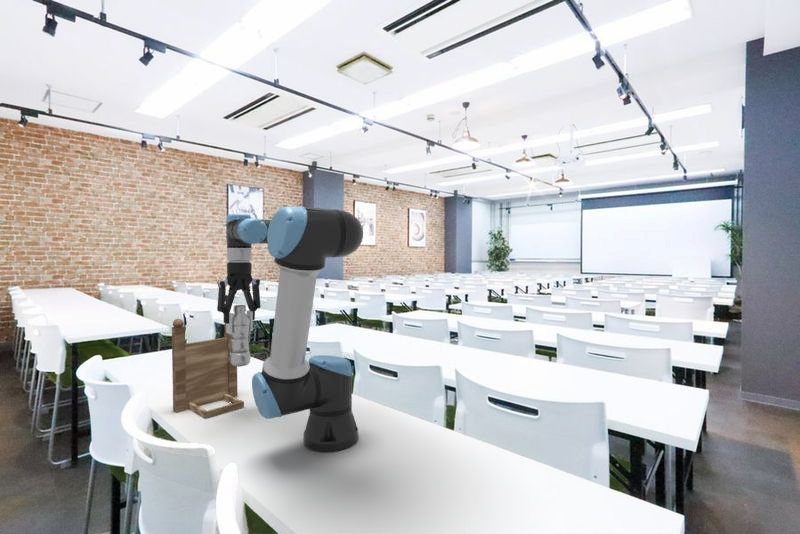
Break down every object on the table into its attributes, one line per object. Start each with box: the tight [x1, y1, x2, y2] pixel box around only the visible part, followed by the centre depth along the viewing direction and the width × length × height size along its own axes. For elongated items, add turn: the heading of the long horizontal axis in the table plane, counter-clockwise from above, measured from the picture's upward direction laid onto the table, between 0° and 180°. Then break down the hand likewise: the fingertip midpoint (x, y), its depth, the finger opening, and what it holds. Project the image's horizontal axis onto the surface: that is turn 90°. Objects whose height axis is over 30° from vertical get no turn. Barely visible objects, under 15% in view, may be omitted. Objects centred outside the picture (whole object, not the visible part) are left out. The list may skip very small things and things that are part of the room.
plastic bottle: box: [229, 304, 252, 368], centre depth 136 cm, size 6×7×20 cm
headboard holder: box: [171, 312, 245, 419], centre depth 140 cm, size 15×21×31 cm
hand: (239, 331), depth 136 cm, fingers closed on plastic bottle, 6 cm apart
